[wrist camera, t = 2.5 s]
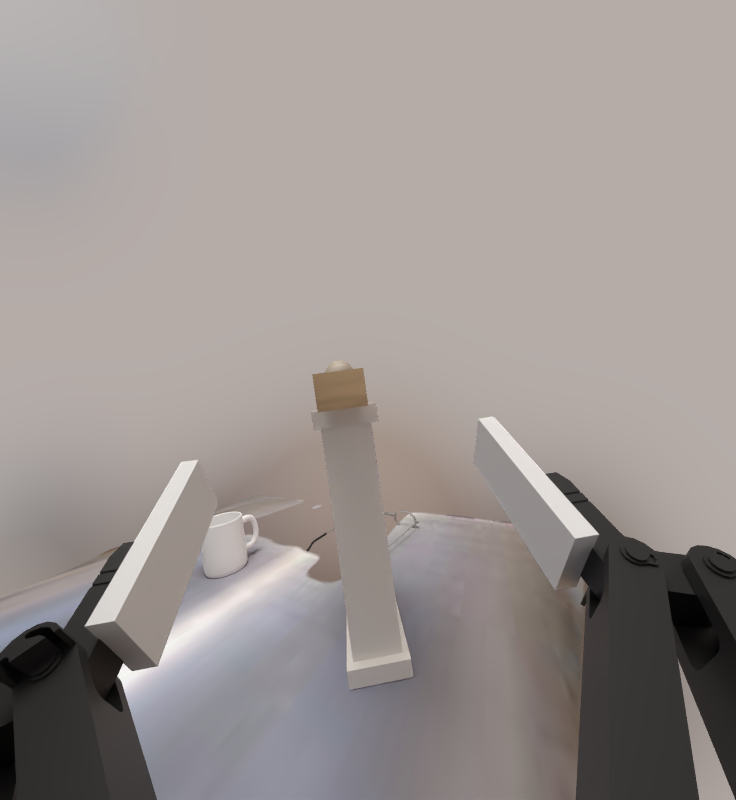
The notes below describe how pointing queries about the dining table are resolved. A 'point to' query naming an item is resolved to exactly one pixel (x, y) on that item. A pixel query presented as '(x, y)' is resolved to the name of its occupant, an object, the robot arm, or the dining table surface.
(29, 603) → the dining table surface
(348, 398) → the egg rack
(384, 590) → the pedestal
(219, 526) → the cup
